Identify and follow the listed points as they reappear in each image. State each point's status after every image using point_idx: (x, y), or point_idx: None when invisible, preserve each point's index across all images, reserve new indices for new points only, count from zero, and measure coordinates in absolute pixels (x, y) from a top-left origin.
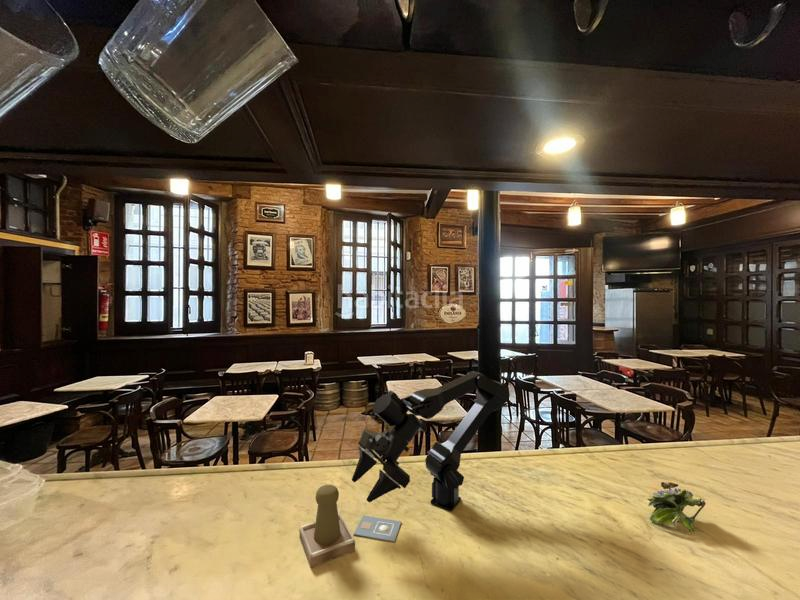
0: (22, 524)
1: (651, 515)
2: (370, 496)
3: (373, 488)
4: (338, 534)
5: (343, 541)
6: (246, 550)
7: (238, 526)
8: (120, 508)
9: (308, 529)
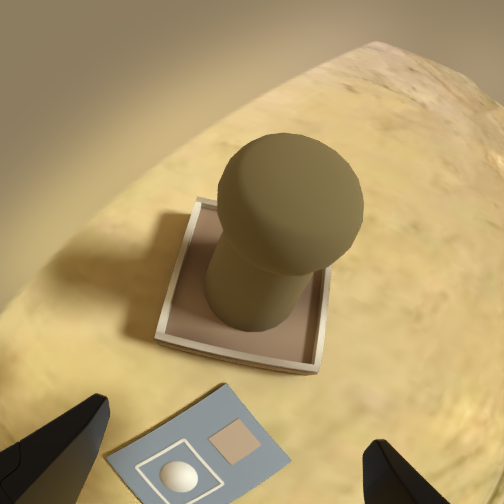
0: (459, 76)
1: None
2: (70, 410)
3: (51, 446)
4: (212, 302)
5: (184, 310)
6: (342, 151)
7: (416, 172)
8: (476, 114)
9: None
